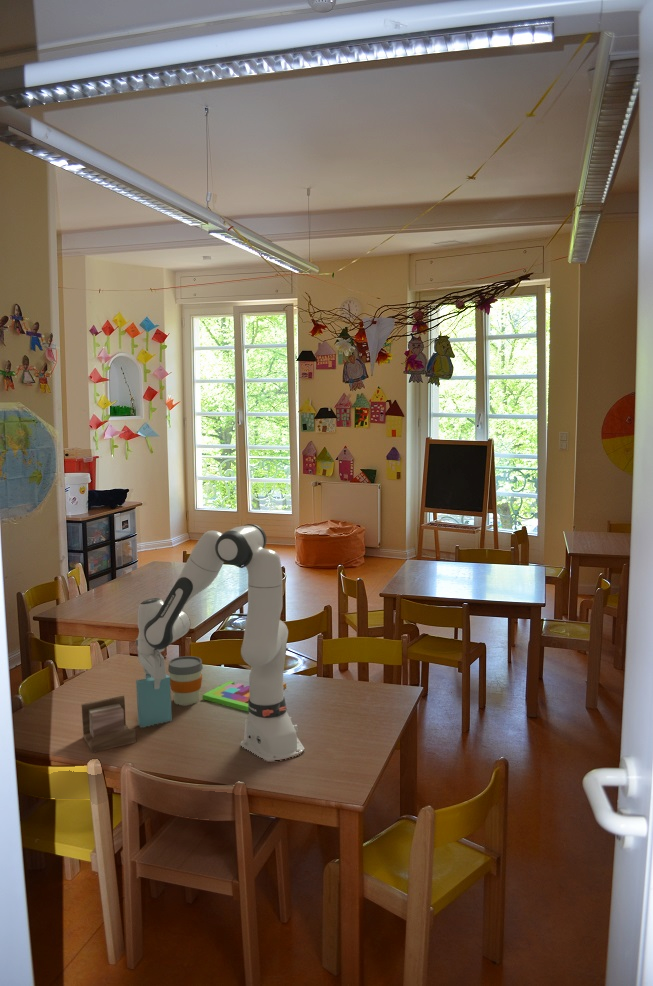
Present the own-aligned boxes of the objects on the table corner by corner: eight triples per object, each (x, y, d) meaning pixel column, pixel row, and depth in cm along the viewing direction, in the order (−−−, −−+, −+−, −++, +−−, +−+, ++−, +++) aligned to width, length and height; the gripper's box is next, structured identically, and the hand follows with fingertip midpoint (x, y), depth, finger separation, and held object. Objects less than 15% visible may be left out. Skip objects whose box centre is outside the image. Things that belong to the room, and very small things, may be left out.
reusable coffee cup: (184, 691, 295) (183, 653, 293) (210, 697, 289) (209, 659, 287) (162, 703, 285) (160, 664, 283) (188, 709, 278) (187, 670, 276)
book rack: (135, 742, 253) (134, 709, 252) (92, 752, 246) (90, 718, 245) (125, 727, 264) (123, 695, 263) (83, 736, 257) (81, 704, 256)
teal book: (171, 721, 269) (170, 677, 267) (140, 728, 264) (138, 683, 262) (169, 717, 272) (167, 674, 270) (138, 724, 266) (136, 680, 264)
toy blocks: (250, 713, 276) (291, 690, 297) (250, 707, 276) (290, 684, 297) (202, 700, 288) (244, 679, 309) (202, 694, 288) (244, 673, 309)
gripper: (170, 652, 257) (170, 692, 259) (151, 635, 274) (152, 672, 276) (151, 655, 254) (152, 696, 256) (134, 638, 271) (135, 675, 273)
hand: (152, 683), depth 266 cm, fingers open, 8 cm apart
